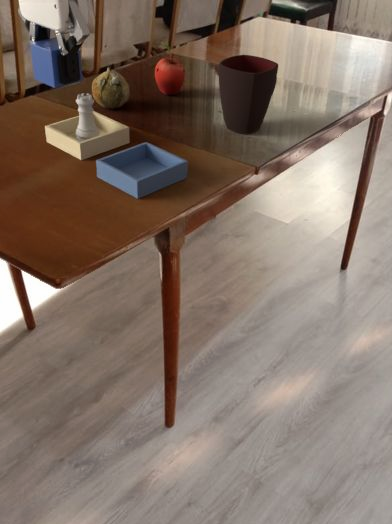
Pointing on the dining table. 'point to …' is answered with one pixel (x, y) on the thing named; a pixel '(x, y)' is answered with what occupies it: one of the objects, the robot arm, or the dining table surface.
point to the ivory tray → (108, 139)
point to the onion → (110, 89)
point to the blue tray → (141, 169)
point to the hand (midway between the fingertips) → (58, 75)
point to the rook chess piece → (85, 118)
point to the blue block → (48, 62)
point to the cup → (246, 91)
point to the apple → (169, 74)
